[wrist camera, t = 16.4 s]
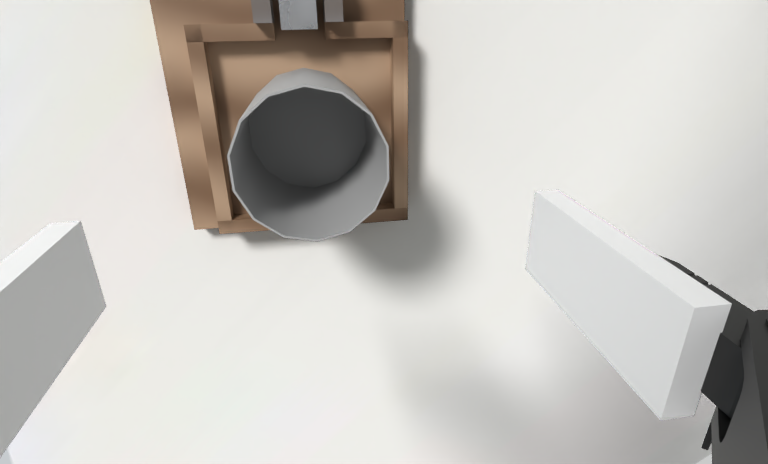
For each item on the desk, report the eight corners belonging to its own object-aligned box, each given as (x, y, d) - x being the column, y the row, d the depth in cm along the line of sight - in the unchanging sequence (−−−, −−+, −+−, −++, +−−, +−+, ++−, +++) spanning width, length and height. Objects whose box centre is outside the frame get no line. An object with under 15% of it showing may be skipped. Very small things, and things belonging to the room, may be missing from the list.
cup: (241, 69, 31) (216, 87, 22) (363, 65, 32) (387, 80, 23) (257, 190, 35) (241, 247, 26) (367, 182, 36) (390, 235, 27)
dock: (151, -27, 30) (130, -34, 26) (400, -28, 32) (412, -35, 28) (198, 222, 37) (187, 243, 33) (401, 207, 39) (411, 226, 35)
